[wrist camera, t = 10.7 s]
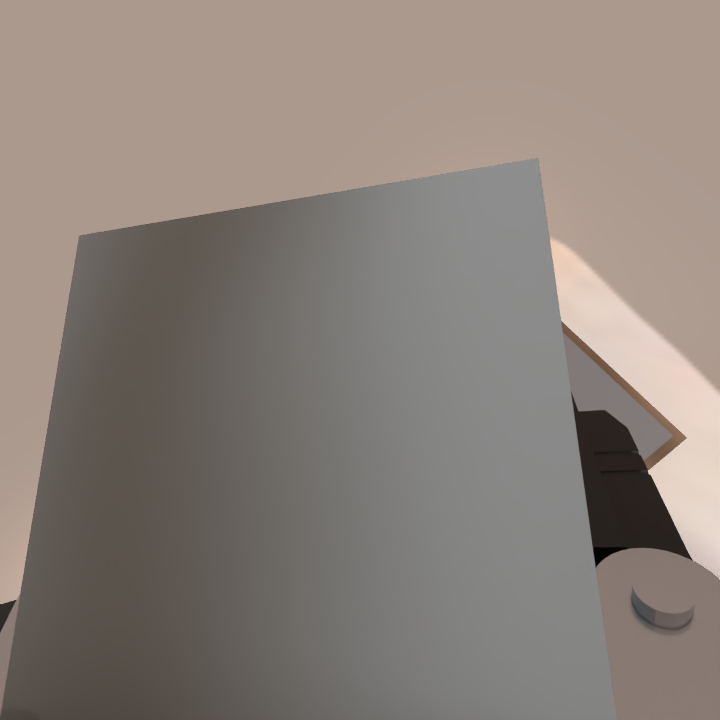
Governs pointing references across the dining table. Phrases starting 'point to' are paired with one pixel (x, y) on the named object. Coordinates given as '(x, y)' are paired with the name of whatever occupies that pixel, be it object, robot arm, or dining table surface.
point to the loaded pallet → (316, 470)
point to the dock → (617, 400)
